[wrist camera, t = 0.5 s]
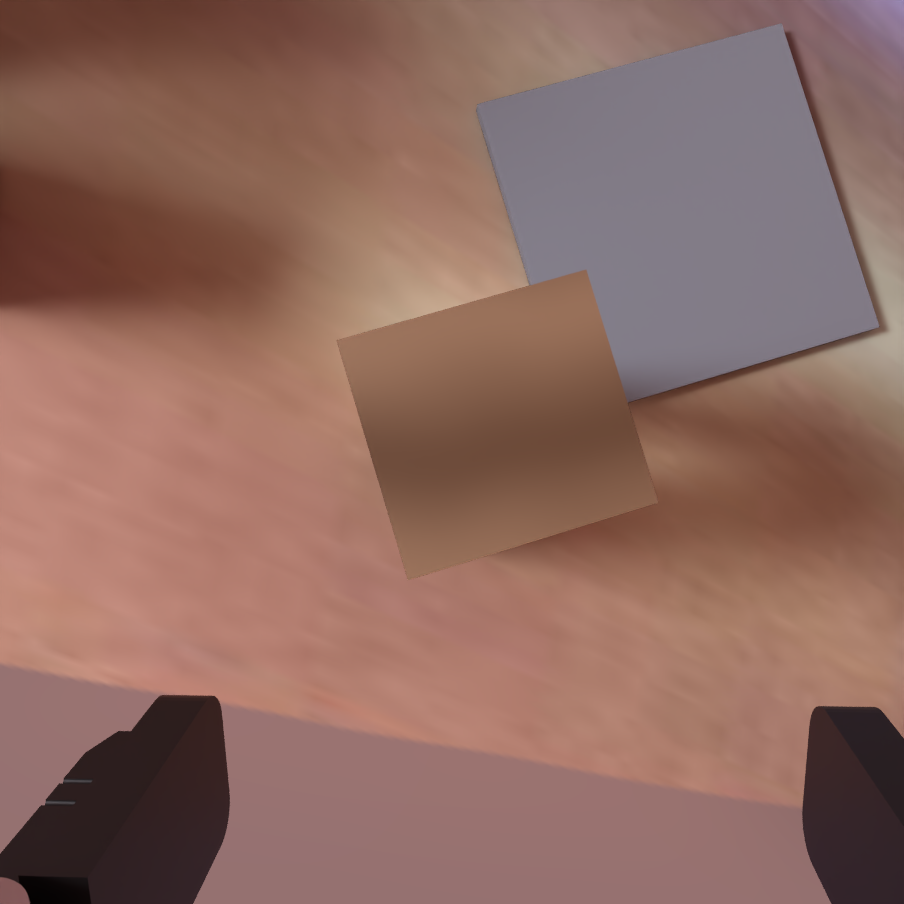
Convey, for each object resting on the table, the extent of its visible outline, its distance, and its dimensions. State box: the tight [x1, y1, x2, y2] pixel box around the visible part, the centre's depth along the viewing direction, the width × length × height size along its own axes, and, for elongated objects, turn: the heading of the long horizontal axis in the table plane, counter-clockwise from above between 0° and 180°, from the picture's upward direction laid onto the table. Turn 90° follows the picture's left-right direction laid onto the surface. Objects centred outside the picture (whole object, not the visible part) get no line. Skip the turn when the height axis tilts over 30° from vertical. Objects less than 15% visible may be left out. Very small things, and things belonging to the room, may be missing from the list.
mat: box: [476, 23, 879, 402], centre depth 37 cm, size 14×14×1 cm
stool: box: [337, 270, 659, 580], centre depth 29 cm, size 6×7×14 cm
